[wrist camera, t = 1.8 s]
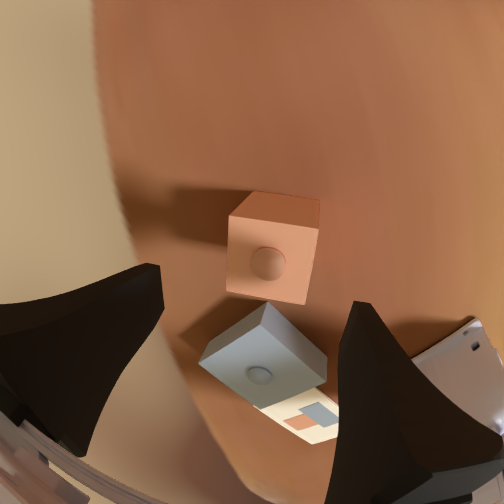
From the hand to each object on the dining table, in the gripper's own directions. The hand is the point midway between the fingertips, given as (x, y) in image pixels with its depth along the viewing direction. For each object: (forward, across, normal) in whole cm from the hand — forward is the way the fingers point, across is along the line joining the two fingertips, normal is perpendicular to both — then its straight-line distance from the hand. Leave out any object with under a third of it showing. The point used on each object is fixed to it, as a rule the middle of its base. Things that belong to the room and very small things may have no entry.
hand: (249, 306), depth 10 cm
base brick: (+9, 0, +11) cm, 14 cm away
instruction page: (+8, -6, +20) cm, 22 cm away
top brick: (+9, 0, 0) cm, 9 cm away
